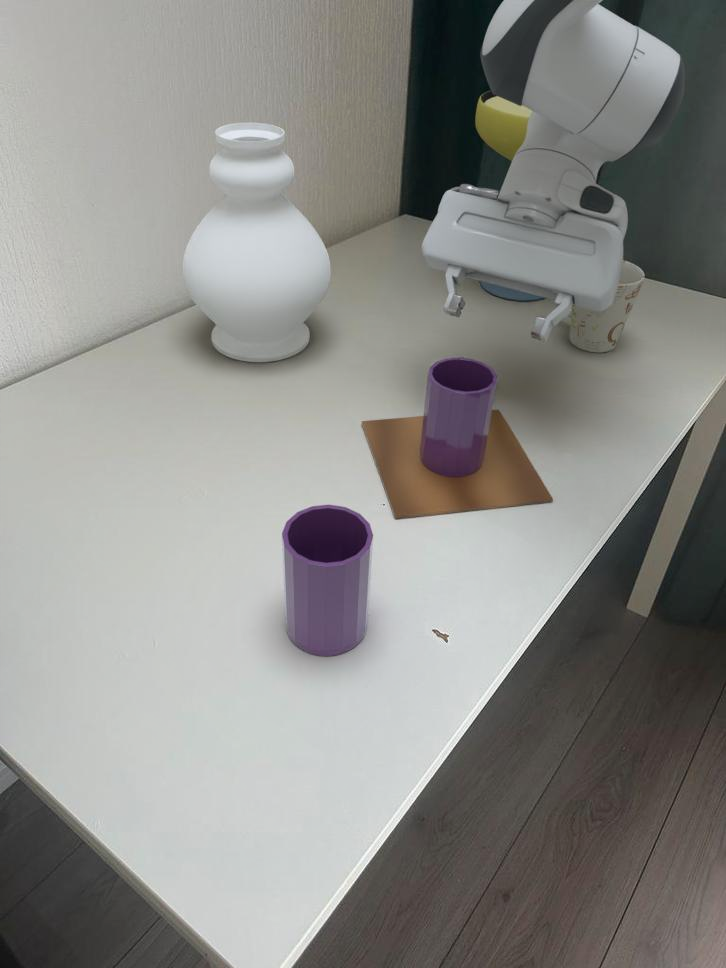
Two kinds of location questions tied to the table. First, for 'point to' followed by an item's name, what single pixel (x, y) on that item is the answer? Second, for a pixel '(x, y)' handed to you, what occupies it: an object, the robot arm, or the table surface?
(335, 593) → the cup
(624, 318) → the mug
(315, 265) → the decorative vase
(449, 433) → the cup
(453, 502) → the mat
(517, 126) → the cocktail glass
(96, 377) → the table surface
